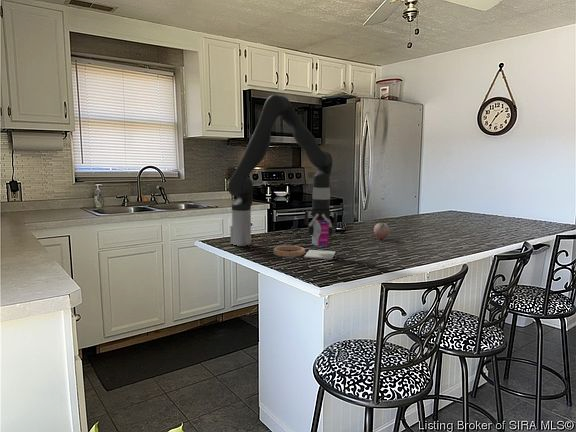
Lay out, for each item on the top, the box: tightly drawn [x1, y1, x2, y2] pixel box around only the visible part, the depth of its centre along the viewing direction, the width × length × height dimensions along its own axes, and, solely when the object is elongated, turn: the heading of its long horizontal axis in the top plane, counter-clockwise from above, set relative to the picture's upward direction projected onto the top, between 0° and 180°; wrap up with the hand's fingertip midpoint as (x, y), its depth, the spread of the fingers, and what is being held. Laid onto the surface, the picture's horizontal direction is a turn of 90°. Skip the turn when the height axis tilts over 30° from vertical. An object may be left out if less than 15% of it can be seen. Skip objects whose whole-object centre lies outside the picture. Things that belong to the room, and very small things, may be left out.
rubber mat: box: [303, 249, 337, 260], centre depth 181 cm, size 12×13×1 cm
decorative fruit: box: [373, 220, 391, 240], centre depth 217 cm, size 9×8×10 cm
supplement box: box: [311, 220, 330, 247], centre depth 180 cm, size 6×6×12 cm
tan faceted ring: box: [273, 245, 306, 258], centre depth 184 cm, size 14×14×2 cm
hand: (320, 235), depth 180 cm, fingers closed on supplement box, 7 cm apart
